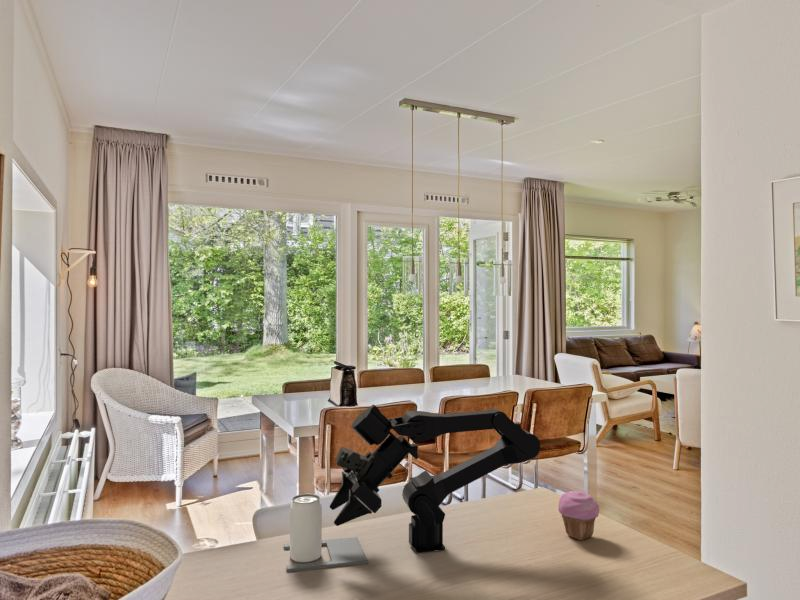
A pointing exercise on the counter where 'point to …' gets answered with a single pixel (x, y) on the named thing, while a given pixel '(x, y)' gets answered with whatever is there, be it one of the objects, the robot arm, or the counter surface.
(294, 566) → the board
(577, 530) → the cupcake
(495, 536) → the counter surface
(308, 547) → the can
